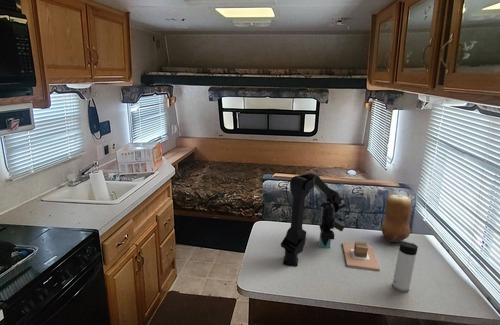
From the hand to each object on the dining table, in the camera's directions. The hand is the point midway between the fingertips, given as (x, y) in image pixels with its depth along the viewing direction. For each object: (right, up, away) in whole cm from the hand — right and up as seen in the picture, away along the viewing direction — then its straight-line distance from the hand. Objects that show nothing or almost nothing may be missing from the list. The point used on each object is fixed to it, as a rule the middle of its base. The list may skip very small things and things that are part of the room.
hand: (324, 242), depth 159 cm
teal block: (0, -1, 0) cm, 1 cm away
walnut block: (+14, -3, -9) cm, 17 cm away
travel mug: (+24, -11, -30) cm, 40 cm away
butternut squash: (+38, -1, +7) cm, 38 cm away
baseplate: (+14, -4, -9) cm, 17 cm away
